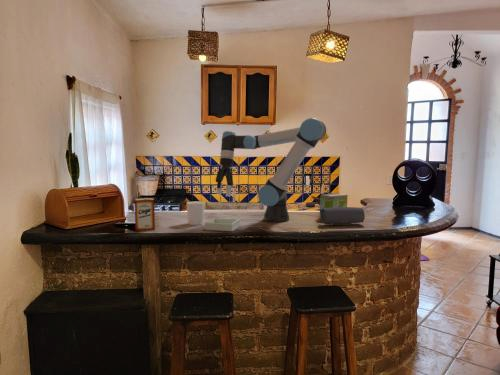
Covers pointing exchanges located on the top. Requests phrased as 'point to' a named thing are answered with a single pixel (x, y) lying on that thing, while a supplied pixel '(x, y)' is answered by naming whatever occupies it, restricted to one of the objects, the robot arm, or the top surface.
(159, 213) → the top surface
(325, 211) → the bluetooth speaker
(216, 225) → the tray
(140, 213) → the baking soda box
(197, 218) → the candle holder
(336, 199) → the tea box
